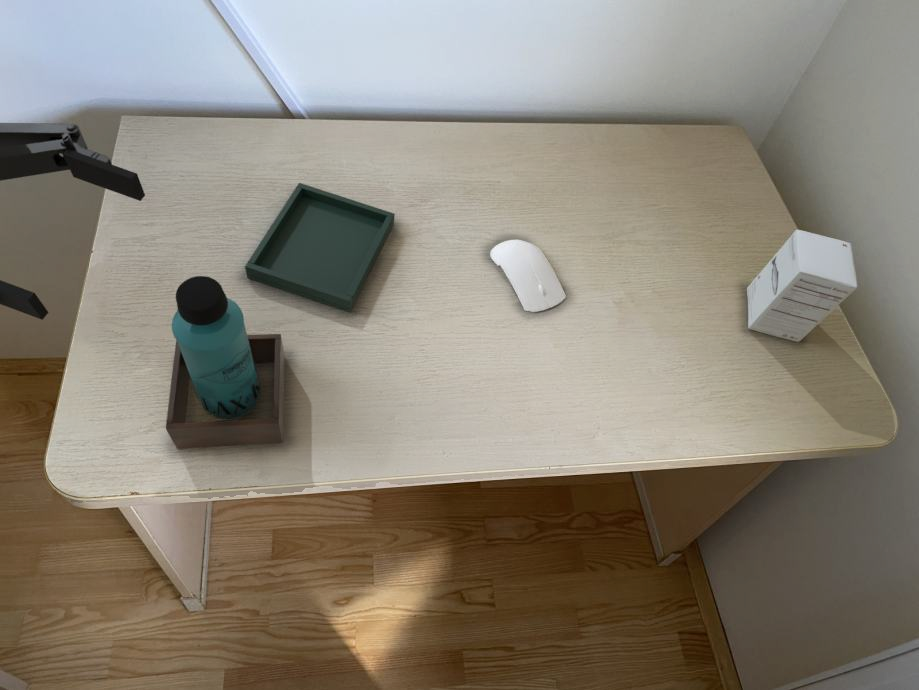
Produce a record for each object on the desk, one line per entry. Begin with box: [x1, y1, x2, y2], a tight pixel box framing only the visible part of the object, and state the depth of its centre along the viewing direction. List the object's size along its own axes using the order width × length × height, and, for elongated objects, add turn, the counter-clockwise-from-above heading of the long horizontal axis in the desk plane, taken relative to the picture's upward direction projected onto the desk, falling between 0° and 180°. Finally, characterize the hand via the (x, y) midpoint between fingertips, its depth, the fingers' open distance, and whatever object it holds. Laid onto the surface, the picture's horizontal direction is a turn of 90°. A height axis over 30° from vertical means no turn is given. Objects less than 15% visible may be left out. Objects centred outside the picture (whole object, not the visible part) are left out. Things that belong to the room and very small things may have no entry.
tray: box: [244, 182, 396, 313], centre depth 85 cm, size 16×14×2 cm
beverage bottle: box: [171, 275, 262, 420], centre depth 65 cm, size 6×7×20 cm
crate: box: [165, 333, 286, 450], centre depth 71 cm, size 11×11×5 cm
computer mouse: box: [489, 239, 567, 313], centre depth 87 cm, size 7×12×2 cm, turn 28°
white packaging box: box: [746, 229, 858, 343], centre depth 85 cm, size 7×7×13 cm
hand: (92, 243), depth 54 cm, fingers open, 13 cm apart
